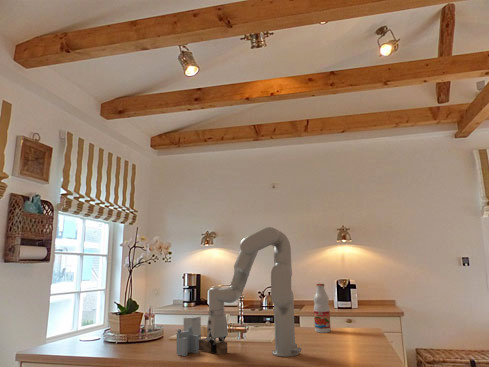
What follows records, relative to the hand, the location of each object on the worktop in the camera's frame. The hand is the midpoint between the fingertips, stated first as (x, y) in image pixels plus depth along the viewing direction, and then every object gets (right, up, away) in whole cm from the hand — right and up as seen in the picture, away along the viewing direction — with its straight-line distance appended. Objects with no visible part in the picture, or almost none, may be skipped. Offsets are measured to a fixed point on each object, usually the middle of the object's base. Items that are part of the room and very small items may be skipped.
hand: (217, 351), depth 199 cm
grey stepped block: (-14, -1, -1) cm, 15 cm away
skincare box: (-14, -4, +16) cm, 22 cm away
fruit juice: (+61, -7, +46) cm, 77 cm away
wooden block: (-2, -1, +2) cm, 3 cm away
